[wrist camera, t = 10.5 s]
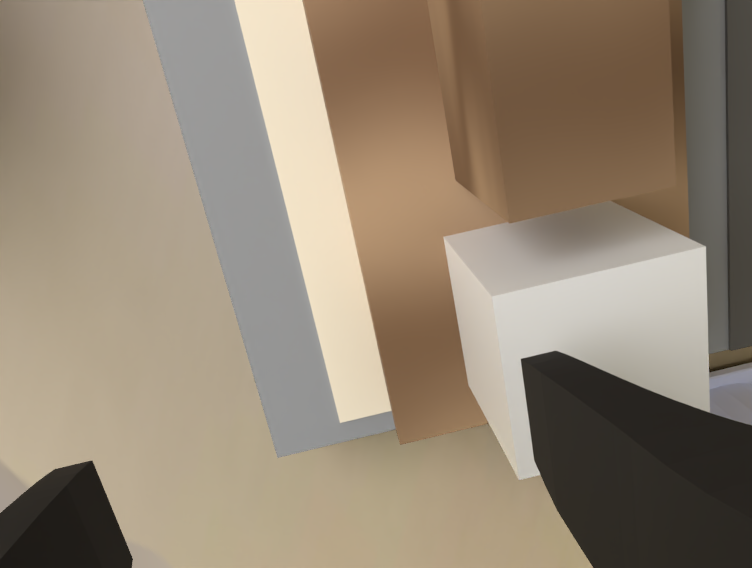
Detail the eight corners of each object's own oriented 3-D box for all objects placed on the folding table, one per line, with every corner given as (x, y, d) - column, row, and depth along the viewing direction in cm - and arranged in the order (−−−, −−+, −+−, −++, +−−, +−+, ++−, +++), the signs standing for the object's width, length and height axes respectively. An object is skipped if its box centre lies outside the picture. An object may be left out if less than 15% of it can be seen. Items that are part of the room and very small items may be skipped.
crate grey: (618, 349, 17) (710, 432, 14) (468, 384, 17) (519, 480, 13) (607, 199, 16) (705, 246, 12) (443, 236, 16) (491, 296, 12)
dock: (708, 304, 23) (768, 341, 20) (279, 405, 22) (277, 459, 19) (692, -401, 16) (778, -497, 14) (81, -290, 16) (34, -365, 13)
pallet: (655, 342, 20) (801, 460, 14) (389, 406, 19) (431, 553, 14) (614, -395, 14) (841, -701, 8) (229, -324, 13) (186, -593, 8)
